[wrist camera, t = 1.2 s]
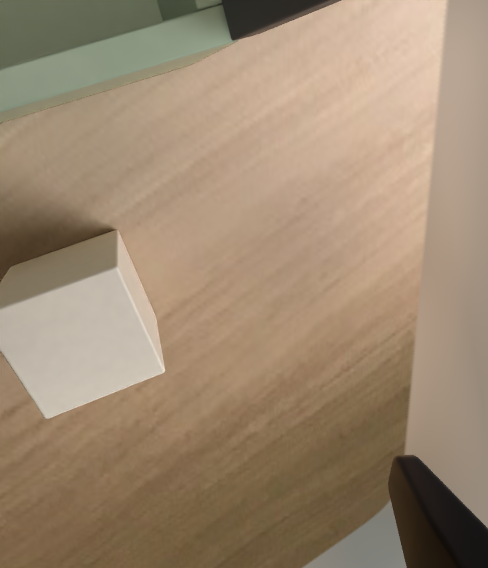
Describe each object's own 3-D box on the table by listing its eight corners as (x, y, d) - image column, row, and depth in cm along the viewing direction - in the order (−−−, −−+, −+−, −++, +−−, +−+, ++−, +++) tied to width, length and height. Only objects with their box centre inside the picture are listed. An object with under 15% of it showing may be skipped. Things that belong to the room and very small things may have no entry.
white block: (60, 354, 19) (45, 420, 15) (9, 266, 17) (-25, 316, 13) (156, 317, 20) (166, 373, 16) (117, 228, 18) (117, 265, 14)
